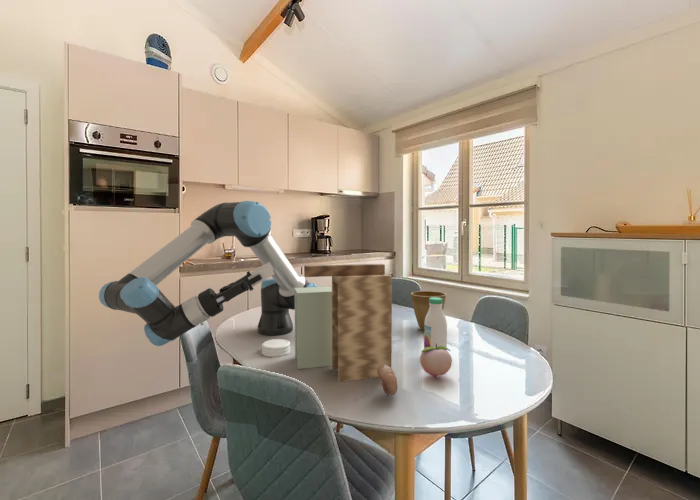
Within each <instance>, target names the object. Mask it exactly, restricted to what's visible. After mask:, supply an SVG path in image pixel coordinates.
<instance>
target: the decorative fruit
mask: <svg viewBox="0 0 700 500" xmlns="http://www.w3.org/2000/svg"><path fill="white" fill-rule="evenodd" d="M450 352H451V350H450V349H449V348H448V347H444V346H438V347H437V344H436V347H427V348H425V349H424V348H423V349H422V350H421V352H420V353H421V354H420V357H419V362H420V366H421V368H422V369H423V370H424V371H425V373H427V374H428V375H430V376H432V377H435V378H437V377H439V376H443V375H445V374H447V373H448V372H449V371H450V369H451V367H452V365H453V364H452V363H453V359H452V355H451V354H450Z"/></svg>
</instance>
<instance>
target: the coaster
mask: <svg viewBox="0 0 700 500" xmlns="http://www.w3.org/2000/svg"><path fill="white" fill-rule="evenodd" d="M289 353H291V342H290V340H288V339H284V338H274V339H268V340H266V341H264V342H263V343H262V344H261V354H262V355H263V356H265V357H269V358H270V357H272V358H274V357H276V358H278V357H283V356H285V355H288V354H289Z"/></svg>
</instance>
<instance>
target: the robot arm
mask: <svg viewBox="0 0 700 500" xmlns="http://www.w3.org/2000/svg"><path fill="white" fill-rule="evenodd" d="M271 219H272V217H271V213H270V212H269V210H268V208H267V207H266V206H265V205H264V204H263V203H260V202H258V201H252V200H243V201H235V202H234V201H233V202H222V203H217V204H216V205H214V206H211V207H210V208H209V209H207V210H205V211H204V212H203V213H201V214H200V215H198V216H197V217H196V218H194V219H193V220H191V223H190V226H189V227H188V228H187V229H185V230H184V231H183V232H181V233H180V234H179V235H177V236H176V237H174V238H173V239H172V240H171V241H170V242H168V243H167V244H165V245H164V246H163V247H161V248H159V250H158V251H156V252H155V253H154V254H151V256H150V257H148V258H147V259H146V260H144V261H143V262H142V263H141V264H139V265H138V266H136V267H135V268H134V269H132V270H131V271H130V272H129V273H127V274H126V275H124V276H123V277H121V278H120V279H119V280H115V281H110V282H108V283H106V284H104V285H103V286H102V287H101V288H100V290H99V292H98V299H99V302H100V304H102V305H103V306H104V307H106V308H108V309H111V310H114V311H122V312H126V313H131V314H135V315H137V316H139V317H140V318H141V319H142V320H143V321H144V322H145V323H146V324H144V327H143V330H144V331H143V332H144V334H145V336H146V338H147V339H148V340H149V342H150V343H151V344H152V345H154V346H156V347H162V346H164V345H166V344H168V343H170V342H172V341H175V340H176V339H178V338H179V337H181V336H182V335H184V334H186V333H187V332H188V331H191V330H192V329H194V328H195V327H197V326H199V325H200V326H204V325H205V322H206V321H208V320H209V319H210V318H213V317H215V316H217V315H218V314H220V313H222V312H223V311H224V305H223V304H224V303H228V302H229V301H231V300H233V299H234V298H235V297H238V296H239V295H241V294H243V293H244V292H247V291H250V292H252V291H253V290H254V289H255V288H254V287H255V286H256V285H258V284H260V283H261V286H260V287H261V288H260V300H261V301H260V302H261V305H260V307H261V309H260V310H261V312H260V313H261V314H260V317H259V320H258V323H257V324H258V325H257V333H258V334H260V335H263V336H264V335H265V336H280V335H281V336H282V335H286V334H289V333H292V332H293V330H294V322H293V320H292V318H291V314H290V310H293V311H295V293H294V288H307V287H318V285H317V284H316V283H314V282H308V280H307V279H306V277H305V276H304V274H301V273H298V272H297V271H296V270H295V268H294V266H293V265H292V264H291V262H290V261H289V260H288V258H287V255H285V253H284V252H283V250H282V249H281V247H280V246H279V244H278V243H277V241H276V240H275V238H274V237H273V236H272V234H271V232H272V220H271ZM225 237H235V238H236V239H237V240H238V241H239V243H240V244H241V245H242V246H243V248H250V249H251V251H252V252H253V253H254V255H255V257H256V259H258V260H259V261H260V263H261V264H262V265H260V266H259V267H257V268H256V269H254V270H252V271H250V270H249V271H246V275H244V276H242V277H241V278H239V279H238V280H237V279H236V281H234V282H231V283H229V284H227V285H225V286H223V287H221V288H220V289H219V290H218V291H219V292H217V293H216V292H215V290H214V289H212V288H206V289H205V290H203V291H201V292H200V293H198V295H194V296H192V297H190V298H189V299H187V300H185V301H184V302H181V303H180V304H179V305H176V306H175V305H174V303H173V302H171V301H170V300H169V299H168V297H167V296H166V295H165V293H163V292H162V291H161V290H160V289H159V287H158V285H159V284H160V283H162V282H163V281H164V280H165V279H166V278H167V277H168V276H169V275H171V274H172V273H174V272H175V271H176V270H177V269H178V268H179V267H181V265H183V264H184V263H185V262H187V261H188V260H189V259H190V258H191V257H193V256H194V255H195V254H196V253H197V252H199V251H200V250H201V249H203V248H204V246H206V245H207V244H209V245H210V244H213V243H214V242H215V241H217V240H218V239H222V238H225ZM270 277H272V278H270Z"/></svg>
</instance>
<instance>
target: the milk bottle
mask: <svg viewBox="0 0 700 500" xmlns="http://www.w3.org/2000/svg"><path fill="white" fill-rule="evenodd" d="M442 303H443V299H442V298H438V297H432V298H429V305H430V307H429V311H428V313H427V315H426V317H425V322H424V331H423V349H425V348H427V347H436V344H437V347H438V346H444V347H447V346H448V343H447V342H448V329H447V328H448V324H447V323H448V322H447V317H446V316H445V315H446V314H445V312H444V309H443V310H442V305H443V304H442ZM447 348H448V347H447Z"/></svg>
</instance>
